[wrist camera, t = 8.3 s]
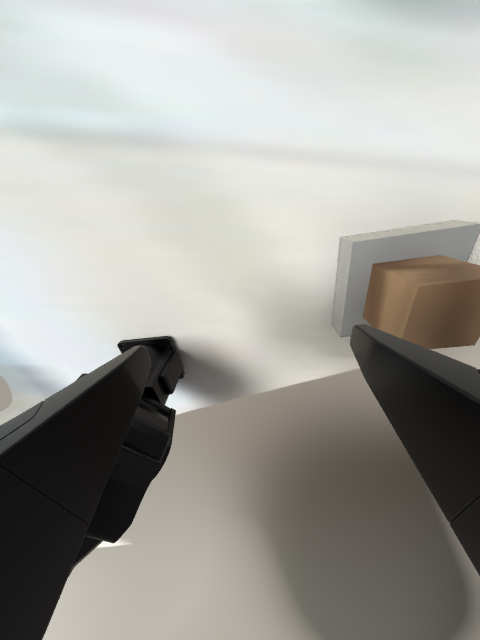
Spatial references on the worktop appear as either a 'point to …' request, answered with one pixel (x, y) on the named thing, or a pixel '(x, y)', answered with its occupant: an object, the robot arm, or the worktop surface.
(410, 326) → the walnut cube
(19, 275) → the worktop surface
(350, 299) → the base
